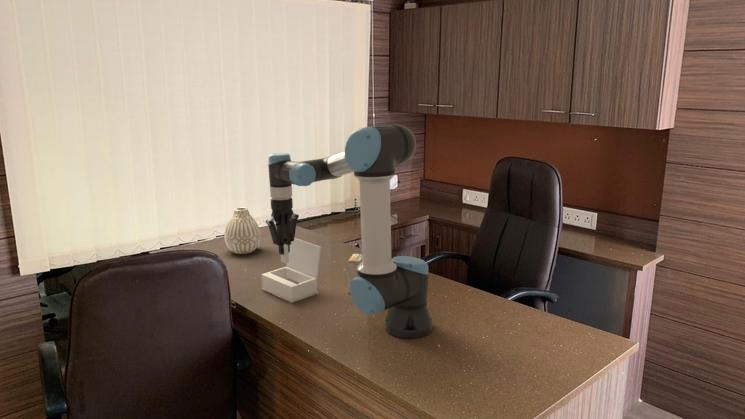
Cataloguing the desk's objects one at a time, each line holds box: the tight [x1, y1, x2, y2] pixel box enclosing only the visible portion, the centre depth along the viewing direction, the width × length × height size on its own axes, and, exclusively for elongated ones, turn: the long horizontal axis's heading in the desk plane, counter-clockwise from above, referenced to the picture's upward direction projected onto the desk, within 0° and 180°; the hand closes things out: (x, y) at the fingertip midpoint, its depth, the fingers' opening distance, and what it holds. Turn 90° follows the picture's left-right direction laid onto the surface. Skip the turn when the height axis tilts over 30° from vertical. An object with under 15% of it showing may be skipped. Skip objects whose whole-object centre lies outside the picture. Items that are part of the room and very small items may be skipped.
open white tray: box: [261, 266, 319, 304], centre depth 207 cm, size 18×12×6 cm, turn 46°
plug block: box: [285, 278, 299, 284], centre depth 205 cm, size 6×4×4 cm
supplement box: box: [347, 253, 362, 295], centre depth 207 cm, size 8×5×13 cm, turn 168°
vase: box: [223, 206, 262, 255], centre depth 250 cm, size 16×16×20 cm
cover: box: [285, 237, 322, 279], centre depth 210 cm, size 18×12×1 cm
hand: (284, 262), depth 200 cm, fingers closed
